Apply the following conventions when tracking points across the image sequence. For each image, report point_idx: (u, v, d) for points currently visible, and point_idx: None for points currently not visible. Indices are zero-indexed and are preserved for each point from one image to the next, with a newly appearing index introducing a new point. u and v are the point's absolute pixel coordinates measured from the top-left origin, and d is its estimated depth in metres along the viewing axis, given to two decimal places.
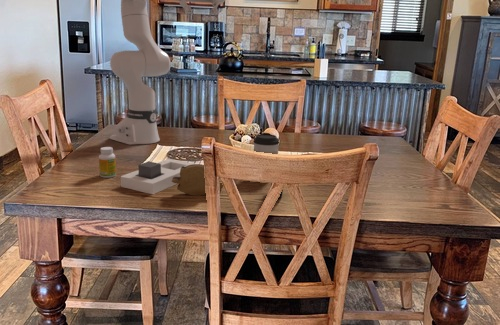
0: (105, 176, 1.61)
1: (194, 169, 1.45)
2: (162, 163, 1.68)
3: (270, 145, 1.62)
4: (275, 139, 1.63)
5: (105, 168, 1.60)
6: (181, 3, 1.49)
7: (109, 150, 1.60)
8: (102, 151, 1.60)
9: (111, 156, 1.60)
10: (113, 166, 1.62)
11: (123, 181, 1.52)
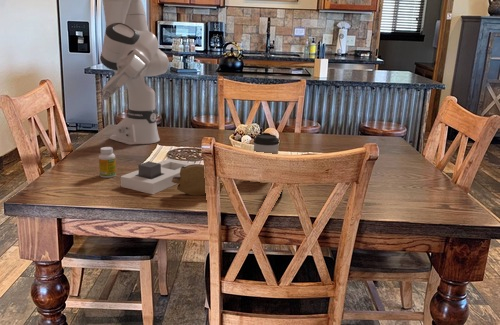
0: (105, 176, 1.61)
1: (194, 169, 1.45)
2: (162, 163, 1.68)
3: (270, 145, 1.62)
4: (275, 139, 1.63)
5: (105, 168, 1.60)
6: (124, 77, 1.52)
7: (109, 150, 1.60)
8: (102, 151, 1.60)
9: (111, 156, 1.60)
10: (113, 166, 1.62)
11: (123, 181, 1.52)
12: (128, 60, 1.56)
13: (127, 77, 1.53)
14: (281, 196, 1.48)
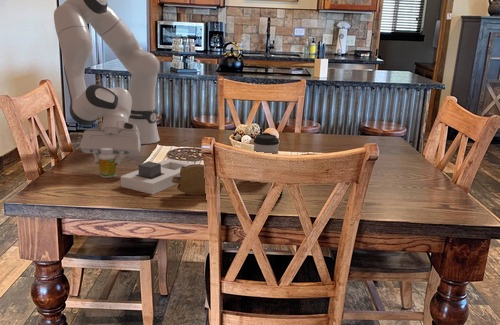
0: (105, 176, 1.61)
1: (194, 169, 1.45)
2: (162, 163, 1.68)
3: (270, 145, 1.62)
4: (275, 139, 1.63)
5: (105, 168, 1.60)
6: (122, 156, 1.63)
7: (109, 150, 1.60)
8: (102, 151, 1.60)
9: (111, 156, 1.60)
10: (113, 166, 1.62)
11: (123, 181, 1.52)
12: (126, 134, 1.65)
13: (124, 155, 1.64)
14: None
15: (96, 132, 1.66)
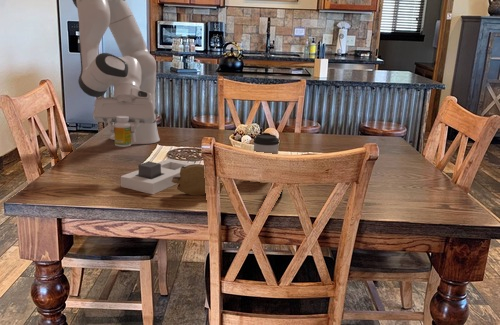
0: (121, 145, 1.58)
1: (194, 169, 1.45)
2: (162, 163, 1.68)
3: (270, 145, 1.62)
4: (275, 139, 1.63)
5: (122, 137, 1.57)
6: (138, 124, 1.60)
7: (126, 118, 1.57)
8: (118, 119, 1.56)
9: (128, 124, 1.57)
10: (129, 135, 1.59)
11: (123, 181, 1.52)
12: (140, 102, 1.62)
13: (139, 123, 1.61)
14: None
15: (109, 100, 1.62)
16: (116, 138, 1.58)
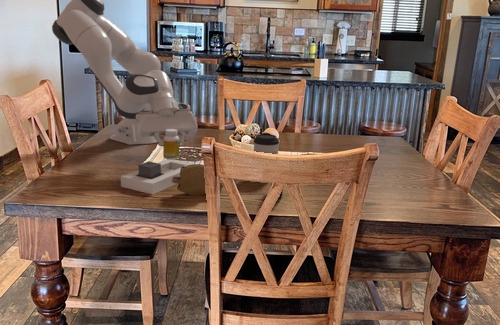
0: (173, 158, 1.62)
1: (194, 169, 1.45)
2: (162, 163, 1.68)
3: (270, 145, 1.62)
4: (275, 139, 1.63)
5: (173, 150, 1.61)
6: (184, 135, 1.66)
7: (176, 131, 1.61)
8: (170, 133, 1.60)
9: (177, 137, 1.62)
10: None
11: (123, 181, 1.52)
12: (182, 114, 1.67)
13: None
14: None
15: (151, 115, 1.64)
16: (167, 152, 1.61)
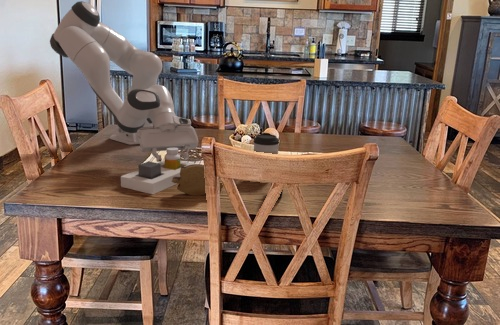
0: None
1: (194, 169, 1.45)
2: (162, 163, 1.68)
3: (270, 145, 1.62)
4: (275, 139, 1.63)
5: (175, 168, 1.63)
6: None
7: (177, 150, 1.63)
8: (171, 151, 1.62)
9: (179, 155, 1.64)
10: None
11: (123, 181, 1.52)
12: (182, 129, 1.69)
13: None
14: (281, 196, 1.48)
15: (152, 130, 1.65)
16: None
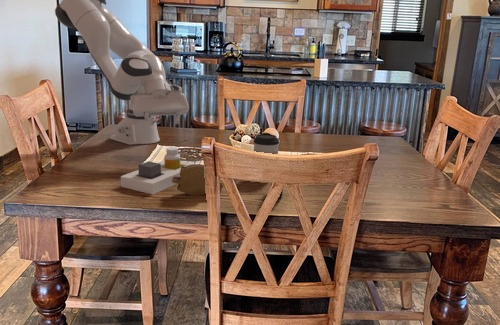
0: None
1: (193, 169, 1.45)
2: (162, 163, 1.68)
3: (270, 145, 1.62)
4: (275, 139, 1.63)
5: (175, 168, 1.63)
6: (179, 115, 1.76)
7: (177, 150, 1.63)
8: (171, 152, 1.62)
9: (178, 155, 1.64)
10: None
11: (123, 181, 1.52)
12: (174, 95, 1.77)
13: None
14: None
15: (145, 96, 1.74)
16: None
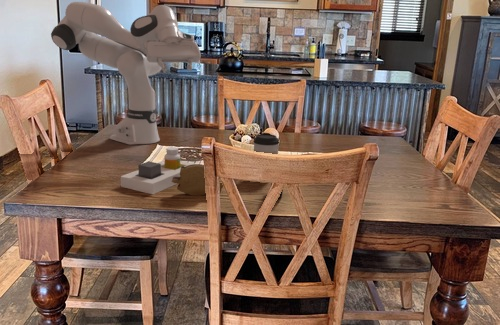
0: None
1: (194, 169, 1.45)
2: (162, 163, 1.68)
3: (270, 145, 1.62)
4: (275, 139, 1.63)
5: (175, 168, 1.63)
6: None
7: (177, 150, 1.63)
8: (171, 152, 1.62)
9: (178, 155, 1.64)
10: None
11: (123, 181, 1.52)
12: (186, 43, 1.81)
13: None
14: None
15: (158, 42, 1.77)
16: None
